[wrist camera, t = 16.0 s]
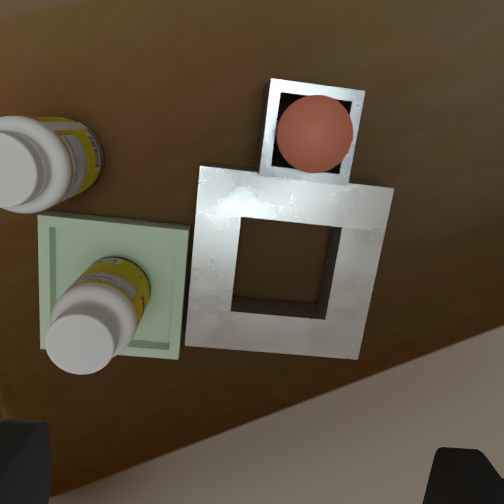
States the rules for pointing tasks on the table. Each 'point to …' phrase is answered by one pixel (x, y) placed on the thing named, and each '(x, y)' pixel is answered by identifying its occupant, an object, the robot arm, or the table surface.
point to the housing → (292, 210)
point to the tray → (124, 244)
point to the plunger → (314, 133)
